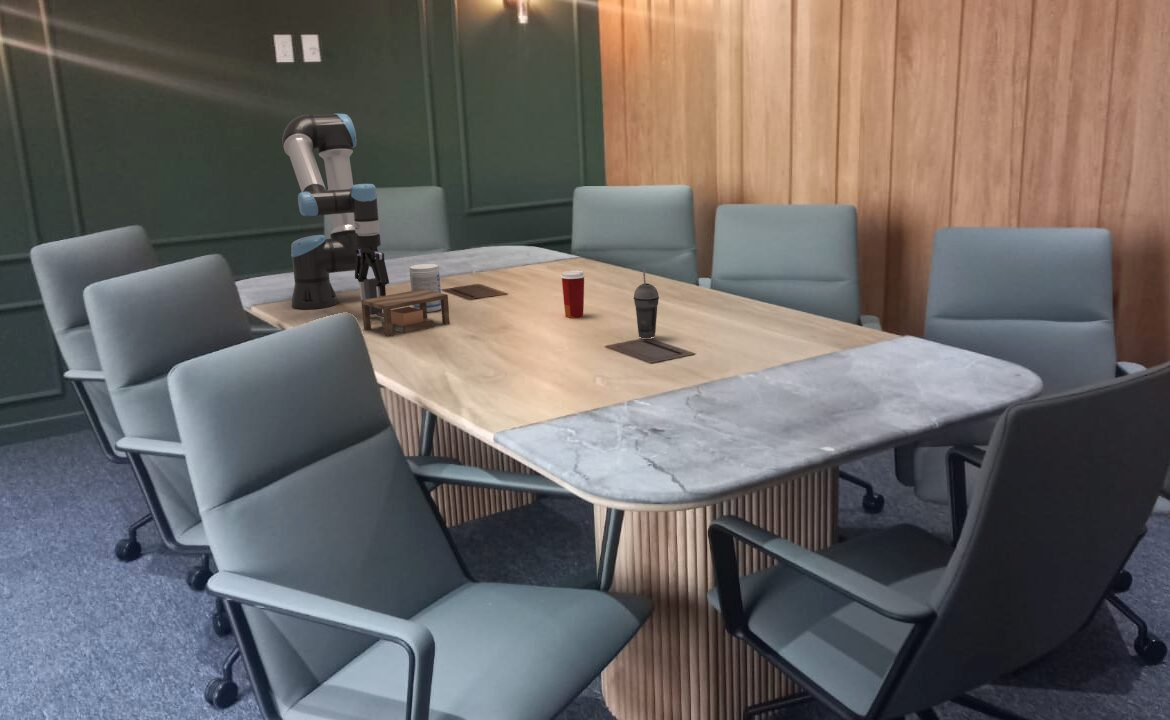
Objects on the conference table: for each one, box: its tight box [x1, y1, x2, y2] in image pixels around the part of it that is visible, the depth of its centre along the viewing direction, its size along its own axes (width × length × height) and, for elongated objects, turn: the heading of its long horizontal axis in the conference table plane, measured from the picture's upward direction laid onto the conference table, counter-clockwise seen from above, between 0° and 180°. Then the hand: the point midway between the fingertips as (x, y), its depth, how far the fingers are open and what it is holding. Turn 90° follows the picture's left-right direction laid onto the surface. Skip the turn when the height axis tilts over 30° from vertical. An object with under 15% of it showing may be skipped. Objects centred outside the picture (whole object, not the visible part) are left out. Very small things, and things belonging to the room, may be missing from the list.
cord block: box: [364, 277, 425, 327], centre depth 316 cm, size 24×7×12 cm, turn 42°
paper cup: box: [560, 270, 586, 319], centre depth 316 cm, size 8×8×14 cm
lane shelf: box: [360, 289, 451, 337], centre depth 310 cm, size 14×22×9 cm, turn 132°
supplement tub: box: [409, 263, 442, 313], centre depth 333 cm, size 10×10×15 cm
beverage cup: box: [633, 267, 660, 338], centre depth 286 cm, size 7×7×20 cm
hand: (373, 303), depth 324 cm, fingers open, 10 cm apart
